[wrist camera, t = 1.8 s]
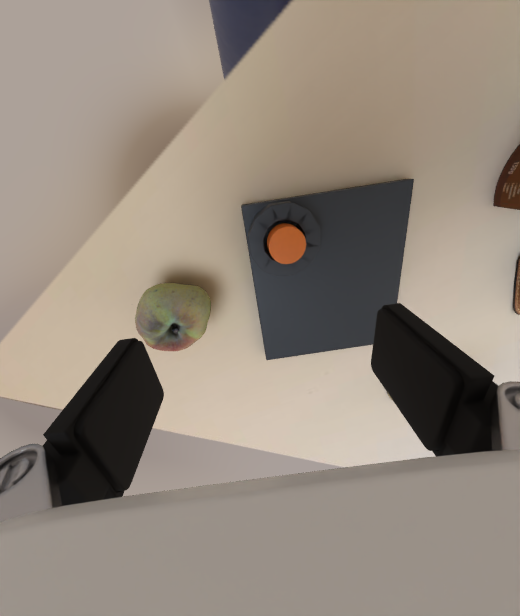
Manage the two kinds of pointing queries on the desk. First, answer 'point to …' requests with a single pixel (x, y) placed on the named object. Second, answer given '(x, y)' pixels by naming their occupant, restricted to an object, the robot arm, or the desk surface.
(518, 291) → the sunglasses case
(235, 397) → the desk surface
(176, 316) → the apple
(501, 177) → the food container
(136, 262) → the desk surface
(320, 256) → the scale
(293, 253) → the button
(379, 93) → the desk surface
